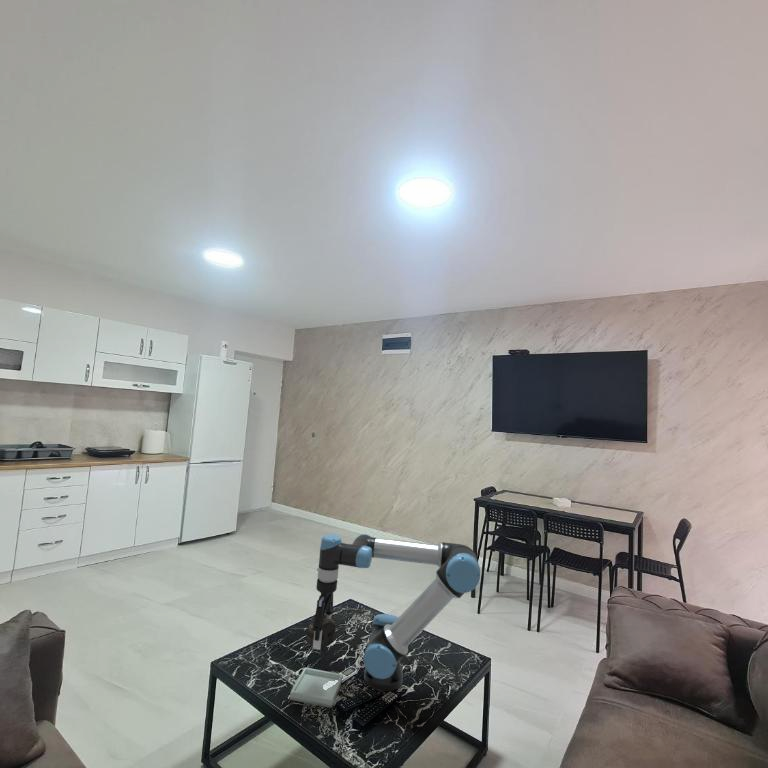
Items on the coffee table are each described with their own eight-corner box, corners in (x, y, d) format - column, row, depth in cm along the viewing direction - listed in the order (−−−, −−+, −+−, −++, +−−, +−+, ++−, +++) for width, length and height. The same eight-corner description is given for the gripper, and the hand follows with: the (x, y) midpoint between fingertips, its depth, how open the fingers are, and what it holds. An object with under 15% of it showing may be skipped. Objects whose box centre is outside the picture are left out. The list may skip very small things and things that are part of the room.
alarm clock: (326, 643, 159) (331, 598, 160) (336, 649, 155) (340, 604, 156) (303, 652, 151) (308, 606, 152) (312, 659, 147) (317, 611, 148)
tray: (342, 681, 158) (343, 674, 158) (331, 707, 143) (332, 700, 143) (304, 674, 161) (304, 667, 161) (289, 699, 146) (290, 692, 146)
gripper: (326, 567, 167) (320, 624, 165) (307, 589, 145) (300, 655, 143) (344, 569, 166) (339, 627, 164) (328, 592, 143) (321, 659, 141)
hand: (321, 640), depth 153 cm, fingers closed on alarm clock, 11 cm apart
